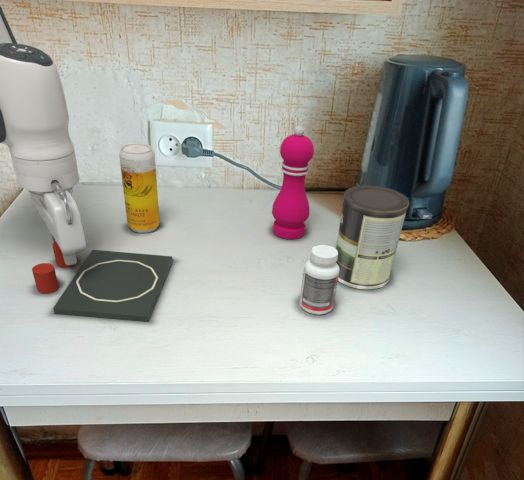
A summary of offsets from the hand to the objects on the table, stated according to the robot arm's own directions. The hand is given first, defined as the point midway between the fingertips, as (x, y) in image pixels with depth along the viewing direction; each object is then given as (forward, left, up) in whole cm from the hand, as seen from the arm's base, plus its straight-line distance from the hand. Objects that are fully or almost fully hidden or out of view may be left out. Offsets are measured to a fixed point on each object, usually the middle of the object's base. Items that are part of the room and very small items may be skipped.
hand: (64, 252), depth 85 cm
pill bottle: (+42, -7, -2) cm, 43 cm away
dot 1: (0, -8, -2) cm, 8 cm away
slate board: (+10, -6, -2) cm, 12 cm away
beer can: (+9, +15, -2) cm, 18 cm away
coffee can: (+50, +4, -2) cm, 51 cm away
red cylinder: (0, 0, -2) cm, 2 cm away
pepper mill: (+37, +18, -2) cm, 42 cm away
